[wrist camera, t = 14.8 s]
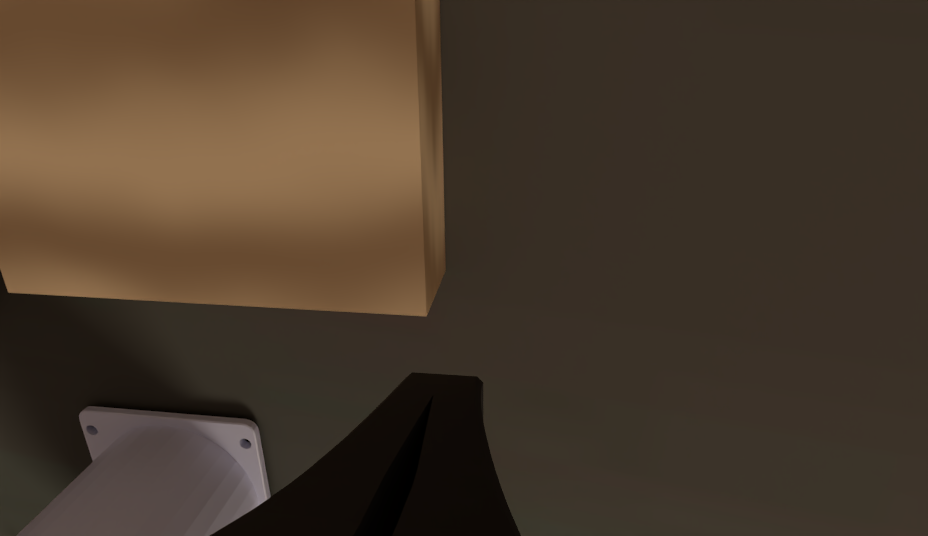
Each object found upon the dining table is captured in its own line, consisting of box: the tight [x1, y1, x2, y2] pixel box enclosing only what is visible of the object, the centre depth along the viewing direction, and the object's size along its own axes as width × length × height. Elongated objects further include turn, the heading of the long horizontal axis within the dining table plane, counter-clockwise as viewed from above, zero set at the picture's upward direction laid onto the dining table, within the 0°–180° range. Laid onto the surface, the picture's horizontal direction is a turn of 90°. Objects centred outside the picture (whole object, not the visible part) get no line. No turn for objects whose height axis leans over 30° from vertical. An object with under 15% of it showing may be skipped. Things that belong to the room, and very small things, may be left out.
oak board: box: [0, 0, 446, 316], centre depth 17 cm, size 16×14×4 cm
